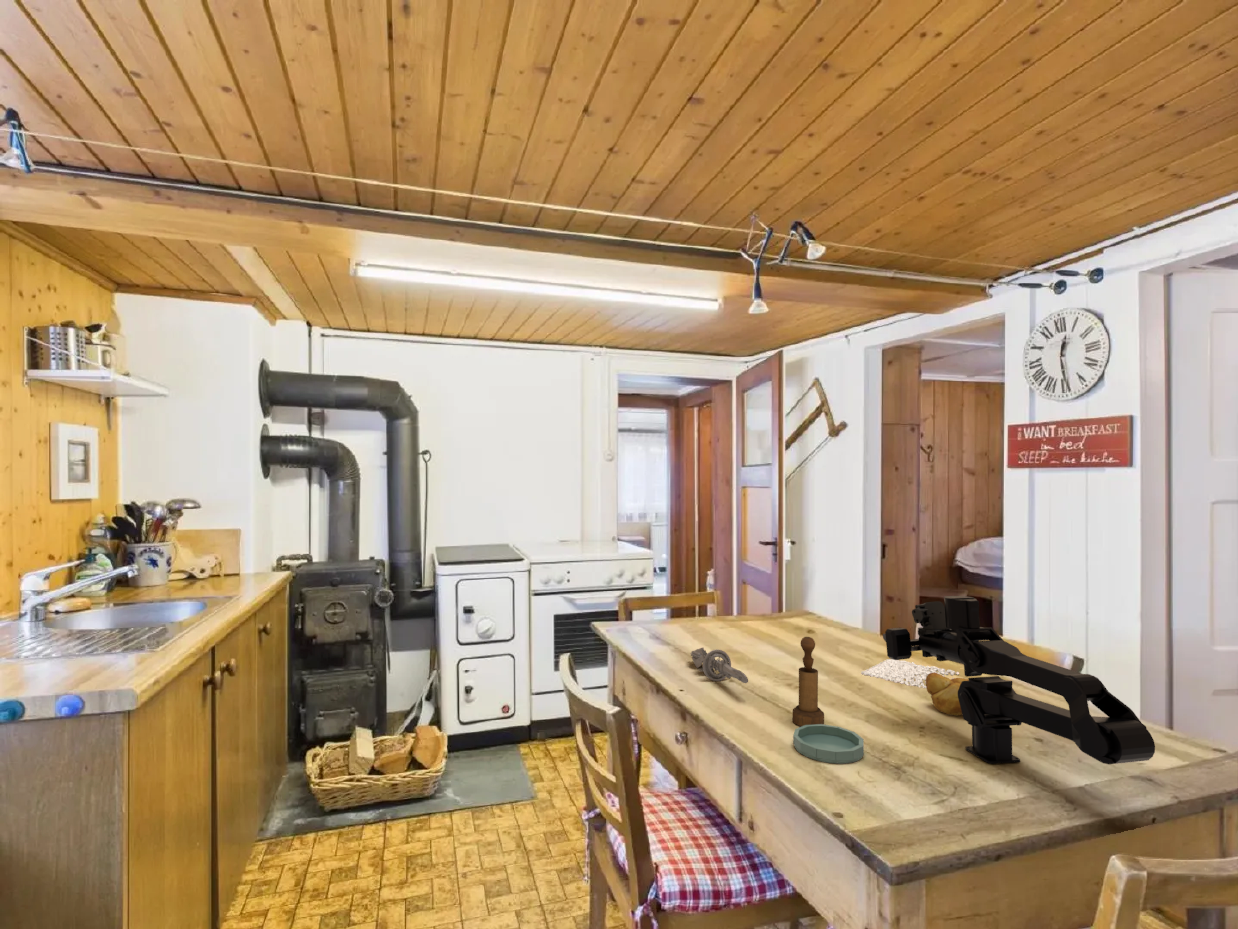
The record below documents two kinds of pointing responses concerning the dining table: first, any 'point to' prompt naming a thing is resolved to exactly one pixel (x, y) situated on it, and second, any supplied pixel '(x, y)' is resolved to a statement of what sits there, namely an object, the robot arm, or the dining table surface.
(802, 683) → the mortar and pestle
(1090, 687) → the robot arm
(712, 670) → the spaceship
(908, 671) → the salt crystals
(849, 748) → the glazed dish
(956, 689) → the bread roll
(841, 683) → the dining table surface
